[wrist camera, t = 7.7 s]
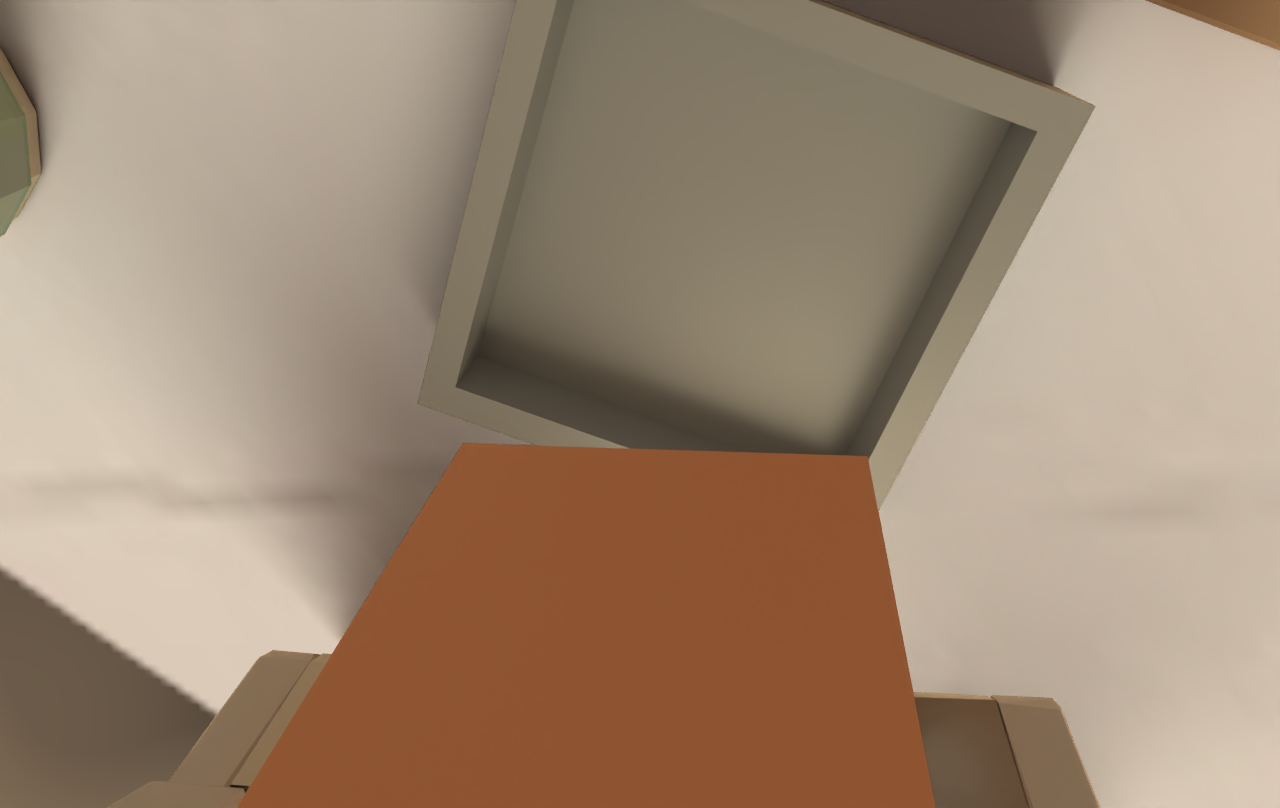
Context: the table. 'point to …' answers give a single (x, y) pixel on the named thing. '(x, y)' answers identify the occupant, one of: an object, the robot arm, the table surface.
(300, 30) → the table surface
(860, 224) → the tray
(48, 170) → the table surface
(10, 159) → the disposable coffee cup
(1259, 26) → the plate
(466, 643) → the orange block
